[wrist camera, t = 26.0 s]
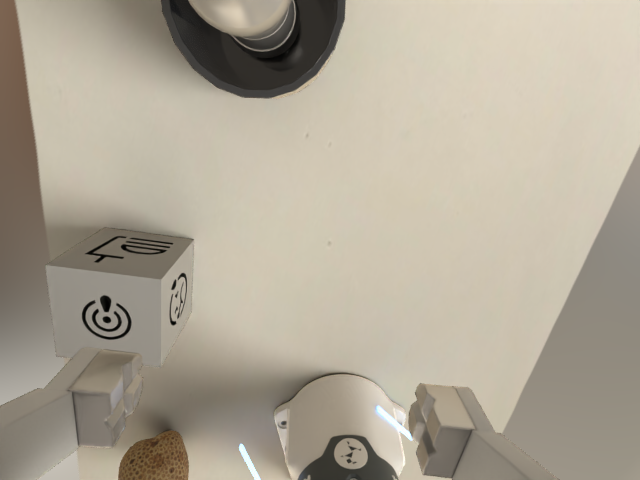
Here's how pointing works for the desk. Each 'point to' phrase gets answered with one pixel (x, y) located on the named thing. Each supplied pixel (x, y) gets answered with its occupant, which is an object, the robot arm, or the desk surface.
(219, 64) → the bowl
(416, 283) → the desk surface
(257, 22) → the metal bottle
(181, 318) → the icon cube
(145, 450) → the natural sponge
